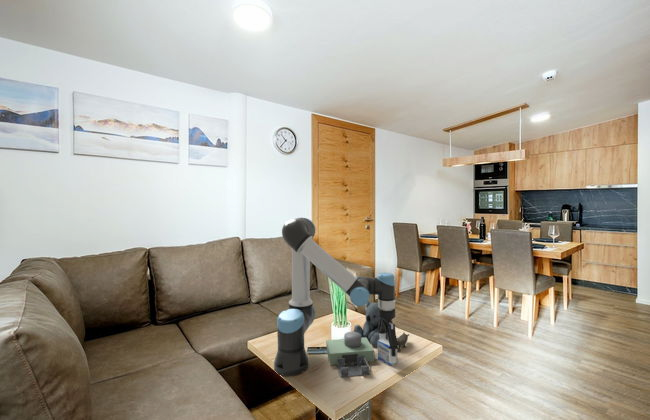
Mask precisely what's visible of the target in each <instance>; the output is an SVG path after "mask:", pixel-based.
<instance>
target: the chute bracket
mask: <svg viewBox="0 0 650 420" xmlns="http://www.w3.org/2000/svg"><path fill="white" fill-rule="evenodd" d="M336 367H337V370H338V374H339V377H340V378H349V377H360V376H369V375H370V365H369V363H368V362H367V361H366V359H365V357H364V356H359V357H357V363H347V364H345V358H338V364H336Z"/></svg>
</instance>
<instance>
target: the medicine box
mask: <svg viewBox="0 0 650 420" xmlns="http://www.w3.org/2000/svg"><path fill="white" fill-rule="evenodd" d="M389 347H390V344H389V340H386V339H384V338H382V339H380V340H378V347H377V357H376V358H377V360H379V361H381V362H383V363H385V364H387V365H389V366H394V365H395V364H396V363H398V350H397V349H396V363H390V361H389Z"/></svg>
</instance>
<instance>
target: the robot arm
mask: <svg viewBox="0 0 650 420" xmlns="http://www.w3.org/2000/svg"><path fill="white" fill-rule="evenodd" d="M315 234H316V225H315V224H314V222H313V220H311V219H309V218H306V217H297V218H292V219H289V220H287V221H286V222H285V223H284V224H283V226H282V229H281V235H282V238H283V240H284V242H285V243H286V244H287V245H288V247H289V248H290V249H291V299H289V301H288V309H286V310H283V311H281V312H280V313H279V314H278V315H277V318H276V319H277V322H276V328H277V331H276V333H277V352H276V355H275V358H274V361H273V368H274V369H273V370H274V371H275V372H276V373H277V374H278V375H280V376H284V377H285V376H286V377H291V376H297V375H300V374H302V373H305V372H306V371H307V370H308V369H309V366H310V365H309V357H308V354H307V352H306V347H305V333H306V332H307V330H308V329H309V328H310V326H311V325H312V324H313V322H314V321H315V317H316V310H315V307H314V301H313V300H312V299H311V297H310V286H311V285H310V284H311V283H310V282H311V280H310V279H311V278H310V277H311V276H310V275H311V273H310V272H311V271H310V270H311V266H310V265H311V263H312V265H314V266H315V267H316V268H317V269H318V270H319V271H320V272H321V273H322V274H324V275H325V276H326V277H328V279H329V280H331V281H332V283H334V284H335V285H336V286H337V287H338V288H340V289H341V290H342V291H343V292H344V293H345V294H346V295H348V296H349V299H350V302H351V303H352V304H353V305H354V306H356V307H363V306H365V304H366V303H367V302H368V300H369V301H370V296H371V295H372V296H377V304H378V307H379V308H378V316H379V317H380V318H379V325H378V330H379V333H380V339H382V338H384V339H386V334H385V333H387V335H388V340H389V344H390V347H389V361H390V363H395V364H396V349H398V344H397V338H398V337H397V334H396V333H397V332H396V324H395V323H393V319H395V318H396V309H395V308H396V302H397V300H396V284H395V281H396V280H395V275H394V274H393V273H391V272H379V273H378V274H377V277H367V276H366V277H365V276H363V277H362V276H355V275H353V274H352V273H351V272H350V271H349V270H347V268H345V267H344V266H343V265H342V264H341V263H340V262H339V261H337V260H336V259H335V258H334V257H333V256H332V255H330V254H329V253H328V252H327V251H326V250H325V249H323V248H322V246H320V245H319V244H318V243H317V242H316V241H315V240H314V237H315Z"/></svg>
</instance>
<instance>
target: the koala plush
mask: <svg viewBox="0 0 650 420" xmlns="http://www.w3.org/2000/svg"><path fill="white" fill-rule="evenodd" d="M364 306H365V308H364V309H365V322H364V324H363V327H362V326H361V325H360V324H356V325H354V328H353V332H358V333H360V334H361V338H365V337H366V338H367V339H368V341H370V345H371V346H372V348H373V347H374V348H378V340H380V333H379V330H378V325H379V318H380V317H379V316H378V308H379V307H378V302H371V301H370V299H369V300H368V302H367V303H366V304H365V305H364ZM385 334H386V340H388V335H387V333H385Z"/></svg>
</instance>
